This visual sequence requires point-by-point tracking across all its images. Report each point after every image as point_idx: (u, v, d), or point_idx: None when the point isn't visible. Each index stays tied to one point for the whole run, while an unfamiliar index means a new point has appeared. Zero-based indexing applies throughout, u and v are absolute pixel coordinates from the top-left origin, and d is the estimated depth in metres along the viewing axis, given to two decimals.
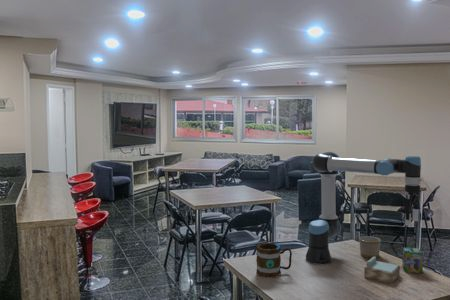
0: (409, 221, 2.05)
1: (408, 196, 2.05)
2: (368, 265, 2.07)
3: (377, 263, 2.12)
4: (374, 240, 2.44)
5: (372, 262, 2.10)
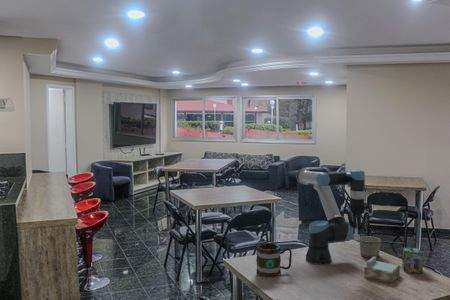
0: None
1: None
2: (368, 265, 2.07)
3: (377, 263, 2.12)
4: (374, 240, 2.44)
5: (372, 262, 2.10)
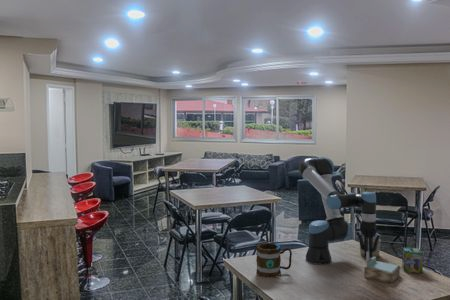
0: None
1: None
2: (368, 265, 2.07)
3: (377, 263, 2.12)
4: (374, 240, 2.44)
5: (372, 262, 2.10)
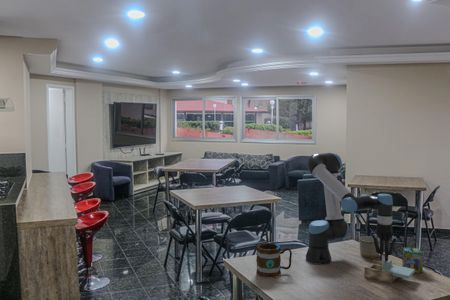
0: None
1: None
2: (384, 268, 2.02)
3: (393, 266, 2.06)
4: None
5: (388, 265, 2.05)
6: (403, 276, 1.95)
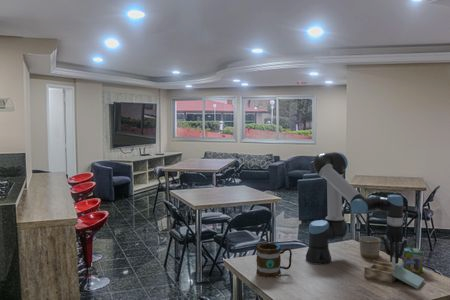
0: None
1: None
2: (395, 271, 1.98)
3: (403, 270, 2.03)
4: (374, 240, 2.44)
5: (399, 269, 2.01)
6: (412, 285, 1.93)
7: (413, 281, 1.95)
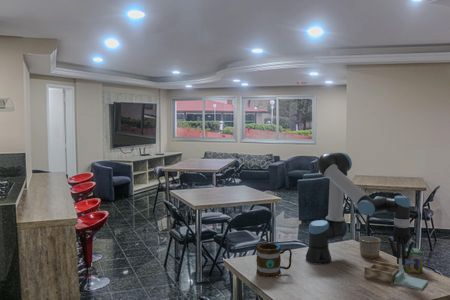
0: None
1: None
2: (396, 280, 1.98)
3: (405, 277, 2.03)
4: (374, 240, 2.44)
5: (400, 277, 2.01)
6: (416, 288, 1.91)
7: (416, 285, 1.94)
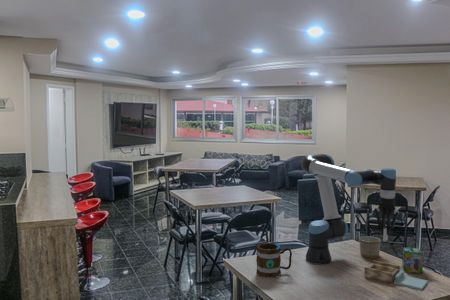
0: None
1: None
2: (396, 280, 1.98)
3: (405, 278, 2.03)
4: (374, 240, 2.44)
5: (400, 277, 2.01)
6: (416, 288, 1.91)
7: (416, 285, 1.94)
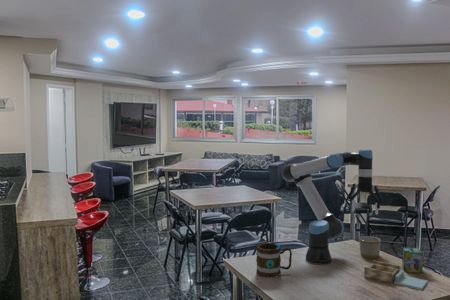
0: None
1: None
2: (396, 280, 1.98)
3: (405, 278, 2.03)
4: (374, 240, 2.44)
5: (400, 277, 2.01)
6: (416, 288, 1.91)
7: (416, 284, 1.94)
